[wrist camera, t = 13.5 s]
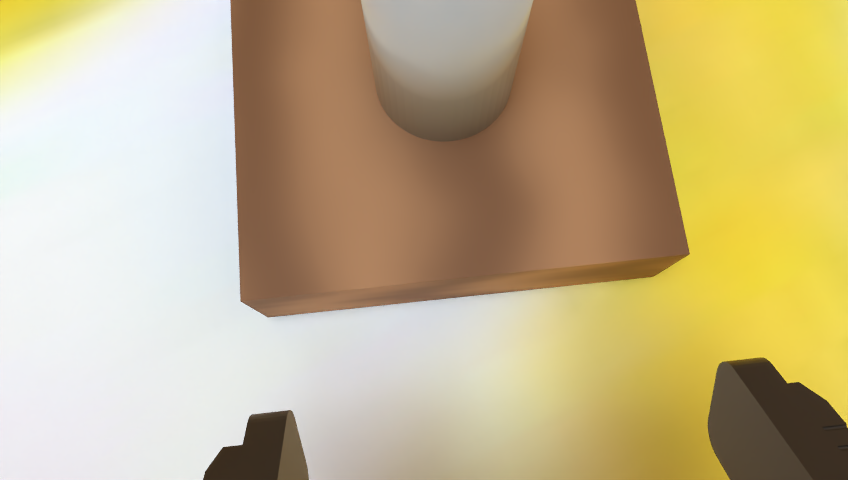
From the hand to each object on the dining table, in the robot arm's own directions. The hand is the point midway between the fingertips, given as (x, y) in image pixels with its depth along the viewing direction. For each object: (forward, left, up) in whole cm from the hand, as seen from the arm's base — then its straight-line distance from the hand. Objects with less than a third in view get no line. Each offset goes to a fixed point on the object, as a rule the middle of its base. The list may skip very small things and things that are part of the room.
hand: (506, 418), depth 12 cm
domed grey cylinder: (0, +11, -7) cm, 13 cm away
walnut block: (0, +11, -11) cm, 15 cm away
